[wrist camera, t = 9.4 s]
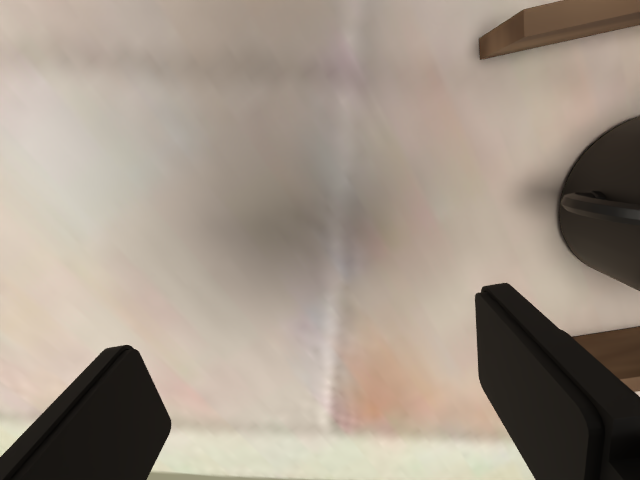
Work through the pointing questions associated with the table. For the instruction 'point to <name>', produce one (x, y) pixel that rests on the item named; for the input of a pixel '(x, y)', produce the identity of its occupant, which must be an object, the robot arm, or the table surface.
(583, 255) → the mug
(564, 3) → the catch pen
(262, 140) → the table surface
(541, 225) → the table surface
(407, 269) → the table surface
